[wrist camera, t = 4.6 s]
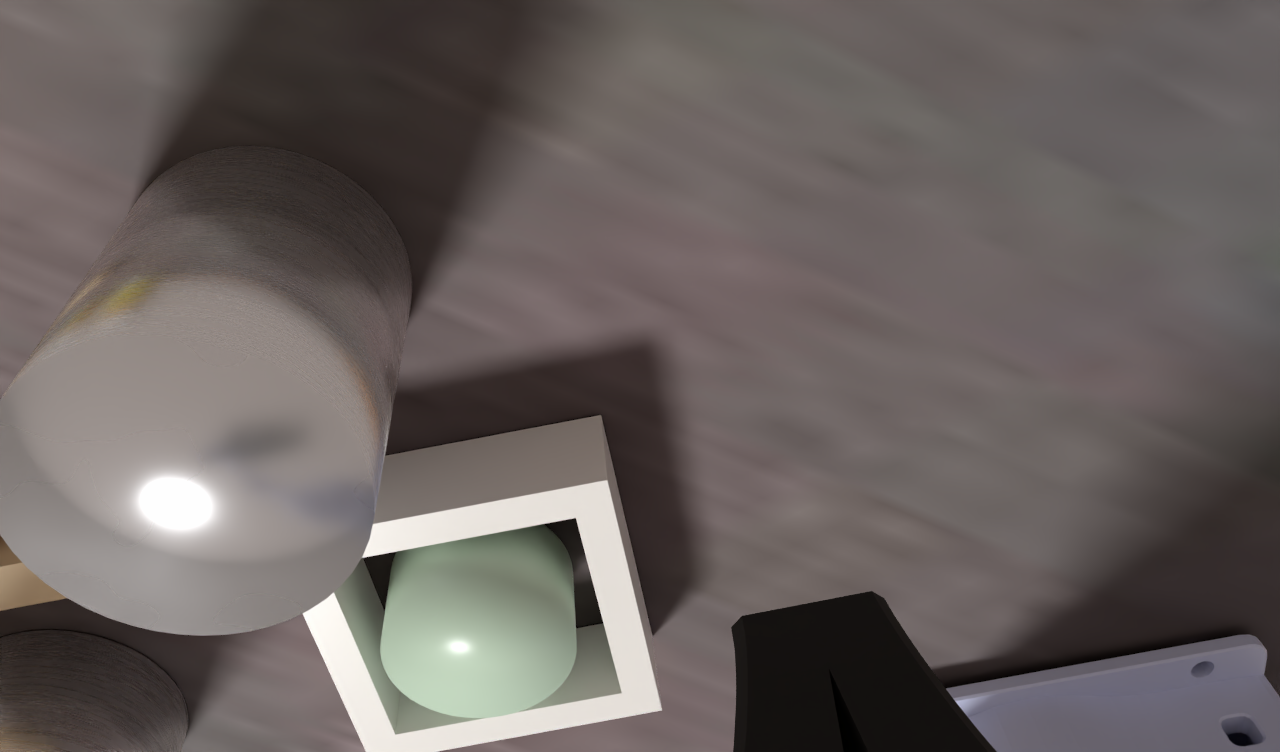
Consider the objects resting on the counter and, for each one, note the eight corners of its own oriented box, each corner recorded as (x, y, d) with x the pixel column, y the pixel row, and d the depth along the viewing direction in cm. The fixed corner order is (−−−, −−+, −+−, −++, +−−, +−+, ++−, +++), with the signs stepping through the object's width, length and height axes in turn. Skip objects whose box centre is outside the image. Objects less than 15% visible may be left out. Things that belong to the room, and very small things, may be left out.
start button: (552, 491, 22) (554, 561, 20) (588, 624, 24) (593, 699, 22) (368, 525, 22) (354, 598, 21) (418, 655, 24) (410, 732, 22)
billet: (365, 119, 18) (305, 302, 13) (443, 368, 21) (418, 599, 16) (71, 177, 19) (-98, 379, 14) (186, 418, 21) (79, 663, 16)
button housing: (601, 414, 22) (607, 480, 20) (652, 637, 25) (661, 710, 23) (290, 473, 22) (270, 543, 20) (381, 688, 25) (371, 763, 24)
